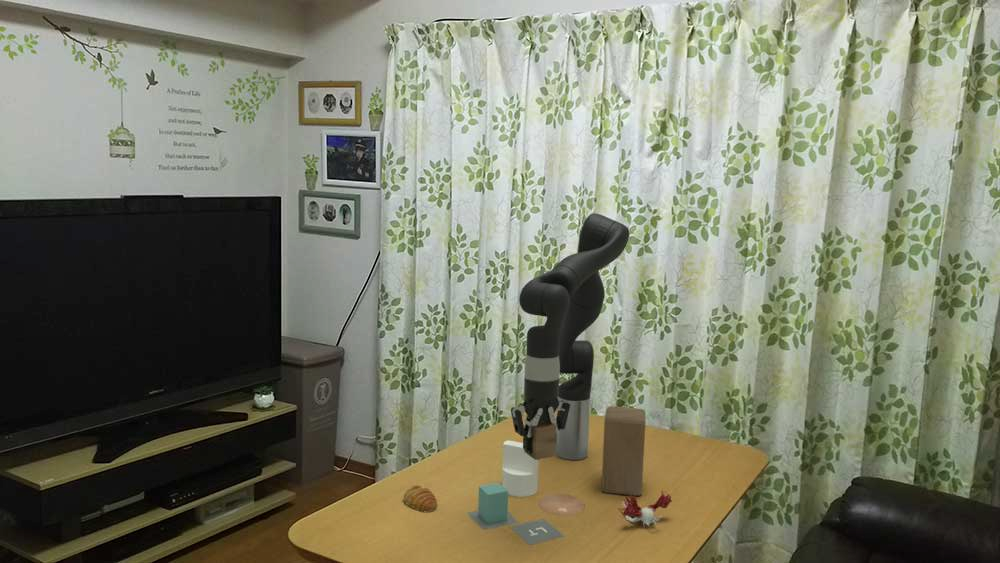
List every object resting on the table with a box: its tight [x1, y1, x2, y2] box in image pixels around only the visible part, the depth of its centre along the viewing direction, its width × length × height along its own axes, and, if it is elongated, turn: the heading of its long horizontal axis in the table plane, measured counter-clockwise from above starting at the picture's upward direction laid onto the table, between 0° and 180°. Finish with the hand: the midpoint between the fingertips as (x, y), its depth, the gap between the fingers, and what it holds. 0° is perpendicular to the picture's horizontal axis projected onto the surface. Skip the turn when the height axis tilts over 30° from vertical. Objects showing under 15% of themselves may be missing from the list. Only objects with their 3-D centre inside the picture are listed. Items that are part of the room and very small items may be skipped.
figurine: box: [617, 490, 673, 530], centre depth 166 cm, size 15×12×7 cm
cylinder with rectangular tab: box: [501, 440, 539, 498], centre depth 180 cm, size 9×9×12 cm
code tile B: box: [467, 510, 520, 531], centre depth 166 cm, size 9×9×1 cm
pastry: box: [403, 484, 438, 513], centre depth 171 cm, size 9×7×4 cm
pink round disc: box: [538, 493, 585, 516], centre depth 173 cm, size 11×11×1 cm
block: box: [600, 405, 646, 497], centre depth 183 cm, size 10×10×20 cm
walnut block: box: [524, 420, 556, 461], centre depth 156 cm, size 5×5×7 cm
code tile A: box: [509, 518, 565, 546], centre depth 159 cm, size 9×9×1 cm
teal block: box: [477, 482, 509, 524], centre depth 165 cm, size 5×5×7 cm
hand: (539, 450), depth 157 cm, fingers closed on walnut block, 5 cm apart
